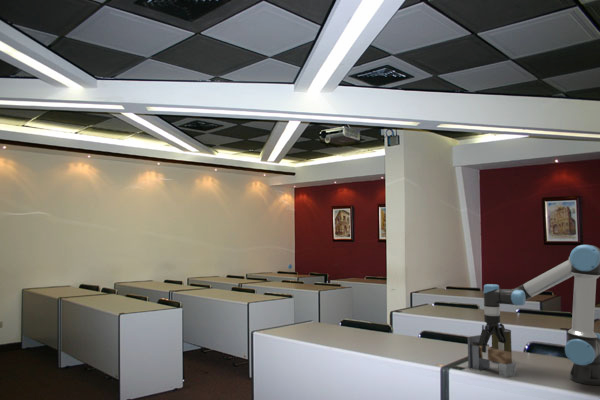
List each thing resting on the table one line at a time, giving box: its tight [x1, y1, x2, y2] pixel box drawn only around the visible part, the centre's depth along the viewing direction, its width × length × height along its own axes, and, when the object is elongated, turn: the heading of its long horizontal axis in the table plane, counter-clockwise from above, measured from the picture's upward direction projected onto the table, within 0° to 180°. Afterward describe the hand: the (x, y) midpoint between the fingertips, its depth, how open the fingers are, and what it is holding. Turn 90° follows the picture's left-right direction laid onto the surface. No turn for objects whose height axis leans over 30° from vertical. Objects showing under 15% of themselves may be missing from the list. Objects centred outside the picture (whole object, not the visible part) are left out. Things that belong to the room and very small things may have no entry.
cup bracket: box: [467, 334, 491, 371], centre depth 244 cm, size 6×11×16 cm, turn 123°
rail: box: [480, 346, 513, 364], centre depth 237 cm, size 18×5×5 cm, turn 33°
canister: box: [491, 324, 513, 364], centre depth 258 cm, size 11×10×20 cm
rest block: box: [498, 361, 517, 378], centre depth 230 cm, size 4×8×6 cm, turn 123°
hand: (493, 357), depth 237 cm, fingers open, 13 cm apart
